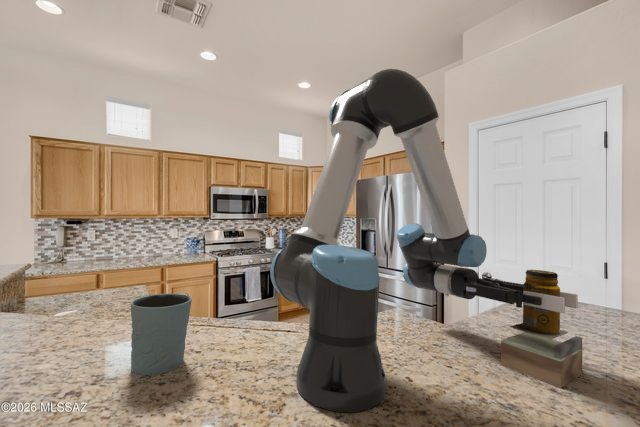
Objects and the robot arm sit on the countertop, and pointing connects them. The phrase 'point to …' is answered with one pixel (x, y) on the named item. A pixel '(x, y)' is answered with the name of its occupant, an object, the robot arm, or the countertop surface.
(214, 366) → the countertop surface
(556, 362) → the stand
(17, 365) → the countertop surface
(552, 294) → the condiment
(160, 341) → the grey textured cup
